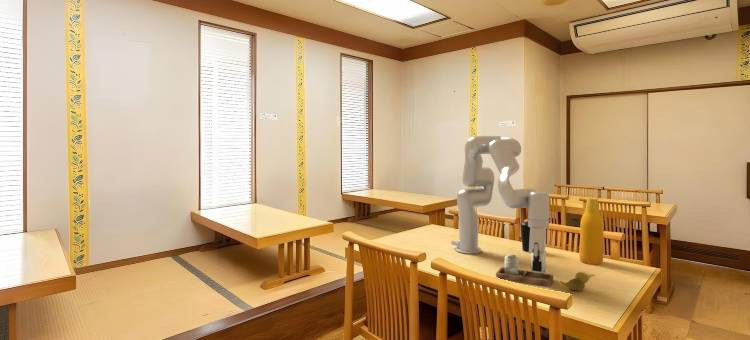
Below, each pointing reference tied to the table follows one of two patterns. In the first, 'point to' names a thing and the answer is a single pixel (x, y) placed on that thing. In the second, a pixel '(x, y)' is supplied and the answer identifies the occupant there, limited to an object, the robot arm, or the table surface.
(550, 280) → the walnut tray
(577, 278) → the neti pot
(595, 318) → the table surface
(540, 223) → the robot arm
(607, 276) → the table surface
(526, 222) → the drinking cup
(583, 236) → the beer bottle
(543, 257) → the celadon canister
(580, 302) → the table surface
